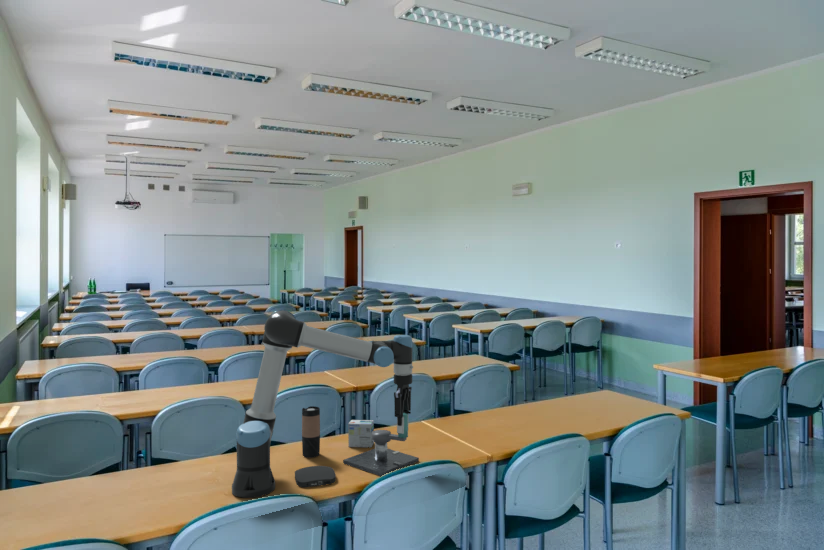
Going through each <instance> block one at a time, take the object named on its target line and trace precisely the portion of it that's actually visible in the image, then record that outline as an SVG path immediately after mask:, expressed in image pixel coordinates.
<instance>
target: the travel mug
mask: <svg viewBox="0 0 824 550" xmlns="http://www.w3.org/2000/svg"><path fill="white" fill-rule="evenodd" d="M320 410H321V409H320V407H319V406H314V405H313V406H310V405H309V406H308V407H302V409H301V441H302V442H301V445H302V448H301V449H302V457H303V456H304V458H306V459H311V458H316V457H317V458H318V457H319V456H320V454H321V453H320V450H321V449H320V448H321V446H320V445H321V411H320Z"/></svg>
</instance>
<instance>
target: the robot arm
mask: <svg viewBox="0 0 824 550" xmlns="http://www.w3.org/2000/svg"><path fill="white" fill-rule="evenodd" d="M263 328H264V329H263V330H264V332H263V336H262V342H261V343H262V344H263V346H264V350H263V355H262V359H261V362H260V363H261V364H260V367H259V372H258V377H257V381H256V384H255V390H254V394H253V397H252V402H251V405H250V408H248V409H247V410H246V411H245V415H244V419H243V423H241V424H240V425H239V426H238V427H237V429H236V434H235V439H236V472H235V474H234V478H233V481H232V484H231V493H232V495H233V496H235V497H238V498H243V499H247V498H248V499H251V498H258V497H259V498H260V497H263V496H262V495H264V496H266V495H268V494H270V492H271V493H273V492H274V491H275V489H276V480H275V477H274V474H273V471H272V468H271V442H272V437H273V434H274V428H275V423H276V419H277V415H276V413H275V408H276V407H275V406H276V402H277V398H278V392H279V390H280V389H279V388H280V385H281V380H282V375H283V371H284V367H285V362H286V358H287V354H288V351H290V350H292V348H297V349H298V348H300V347H305V348H310V349H313V350H318V351H322V352H325V353H330V354H334V355H338V356H342V357H345V358H346V357H347V358H350V359H354V360H358V361H362V362H367V363H370V364H374V365H376V366H378V367H380V368H387V367H389V366H391V365H392V363H393V384H395V385H396V386H397V387H396V391H395V392H393V398H394V400H393V401H394V418H396V433H397V434H398V433H401V434H404V417H403V413H407V414H408V415H411V413H412V412H411V409H412V388H413V387H412V386H409V385H412V383H413V374H412V373H413V369H414V366H413V338H412V336H411V335H410V334H396V335H394V336H393V340H392V339H391V340H363V339H360V338H356V337H354V336H353V337H352V336H348V335H345V334H340V333H336V332H332V331H328V330H326V329H320V328H317V327H313V326H310V325H307V323H306V321H302V320H298V319H297V317H295V315H294V314H293V313H292V312H291V311H288V310H284V309H280V310H275V311H273V312H272V313H270V314H269V316H268V317H267V319H266V321H265V323H264V327H263ZM265 494H266V495H265Z"/></svg>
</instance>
